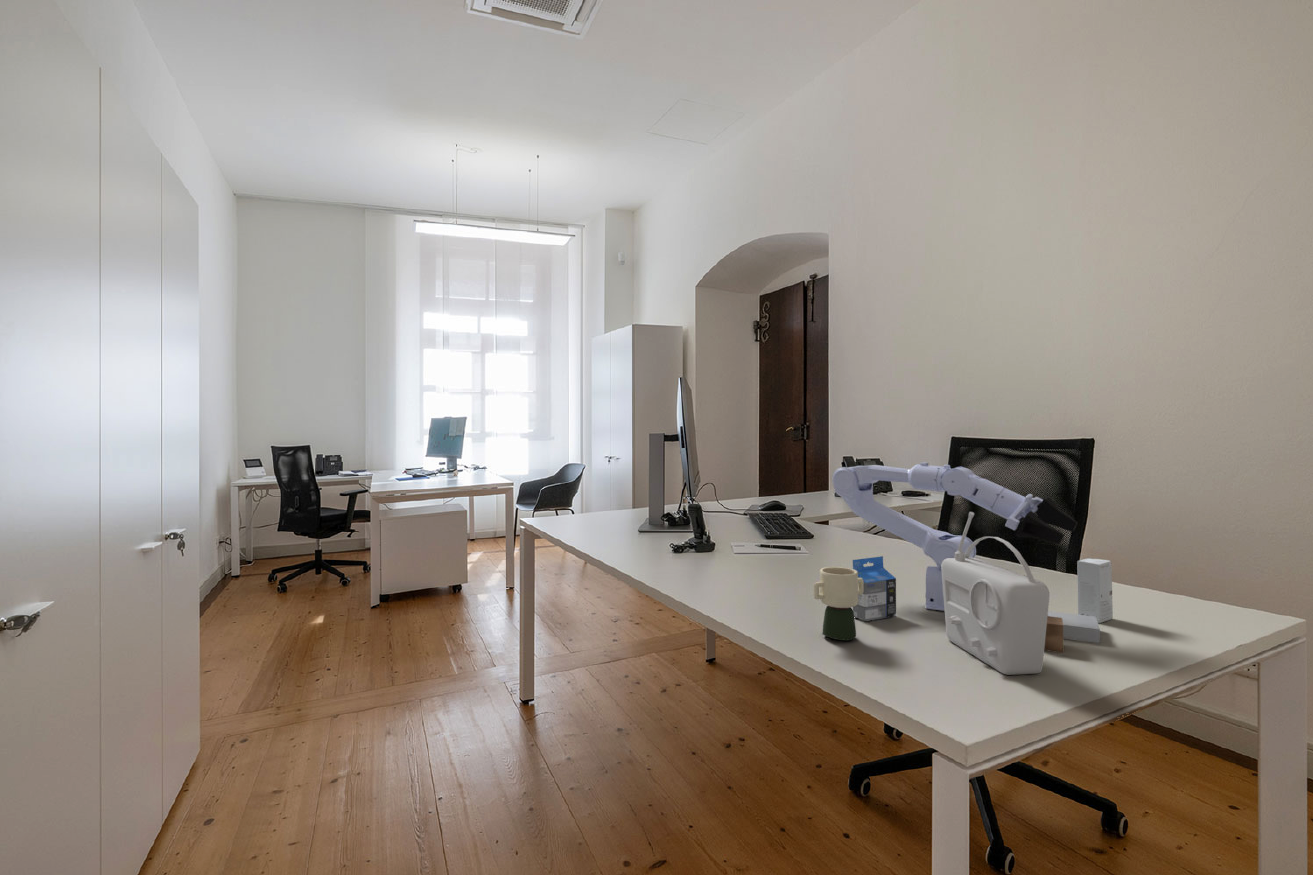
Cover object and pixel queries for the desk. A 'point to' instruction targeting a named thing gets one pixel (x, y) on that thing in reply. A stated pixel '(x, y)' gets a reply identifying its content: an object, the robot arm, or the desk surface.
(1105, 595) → the skincare box
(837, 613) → the character mug
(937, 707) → the desk surface
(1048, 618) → the walnut cube
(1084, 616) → the stoneware block
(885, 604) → the ink cartridge box
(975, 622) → the radio
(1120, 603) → the desk surface
